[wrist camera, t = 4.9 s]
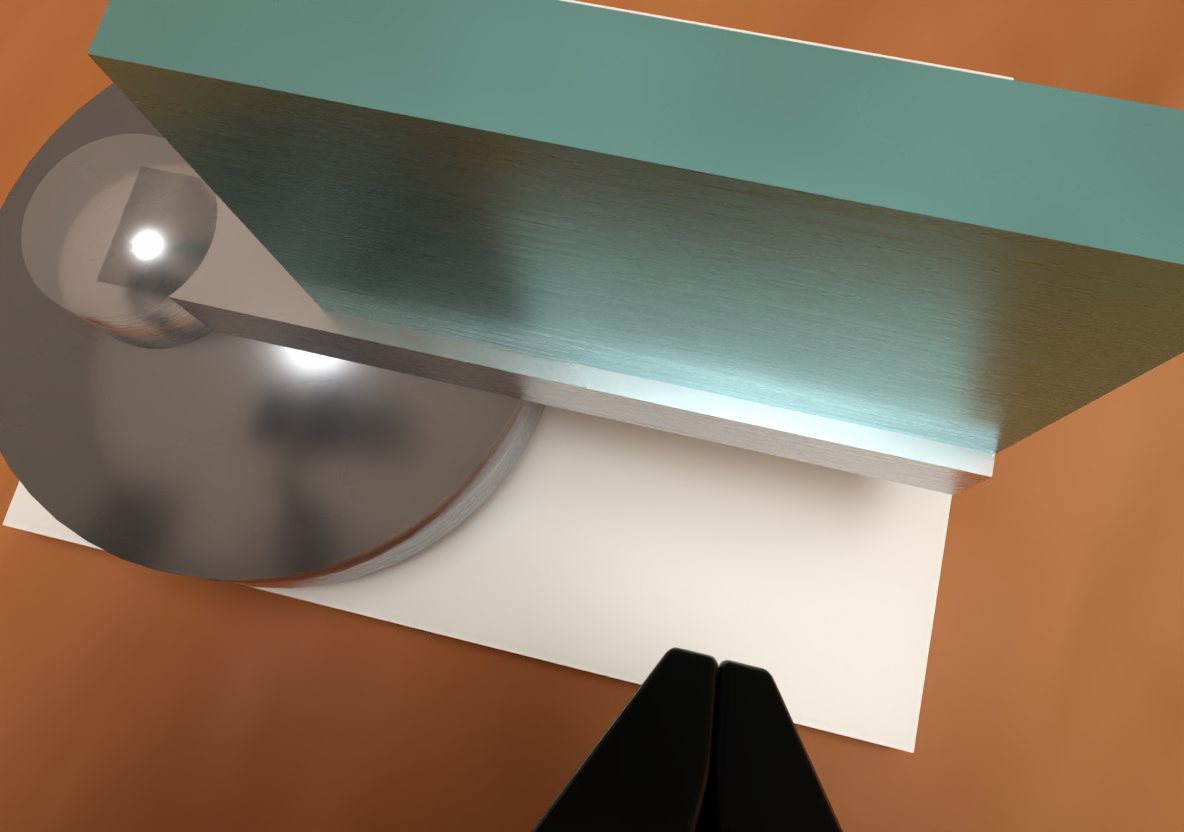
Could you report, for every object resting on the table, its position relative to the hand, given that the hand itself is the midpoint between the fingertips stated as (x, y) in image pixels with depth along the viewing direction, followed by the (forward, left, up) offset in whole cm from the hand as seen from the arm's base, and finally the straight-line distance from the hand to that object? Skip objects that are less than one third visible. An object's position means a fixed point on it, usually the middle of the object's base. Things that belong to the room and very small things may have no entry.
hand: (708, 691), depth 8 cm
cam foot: (+6, 0, -7) cm, 9 cm away
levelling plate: (+7, -2, -9) cm, 11 cm away
